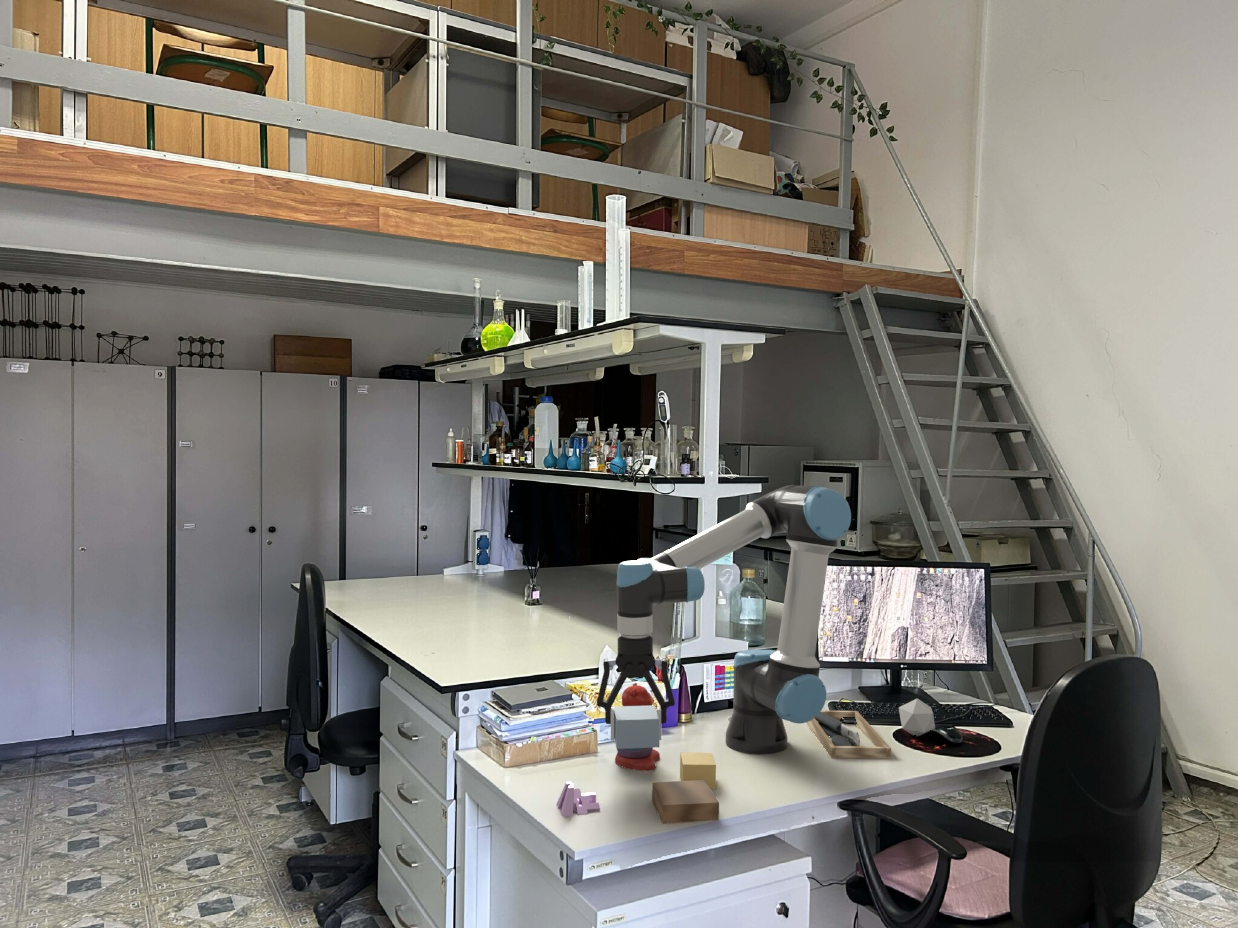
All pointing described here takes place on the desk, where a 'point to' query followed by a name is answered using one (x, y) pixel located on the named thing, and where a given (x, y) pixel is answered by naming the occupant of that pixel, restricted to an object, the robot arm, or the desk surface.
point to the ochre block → (698, 768)
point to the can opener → (838, 731)
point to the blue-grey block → (636, 727)
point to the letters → (576, 801)
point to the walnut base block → (684, 801)
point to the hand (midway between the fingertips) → (636, 738)
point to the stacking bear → (637, 756)
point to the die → (916, 717)
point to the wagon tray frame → (851, 751)
